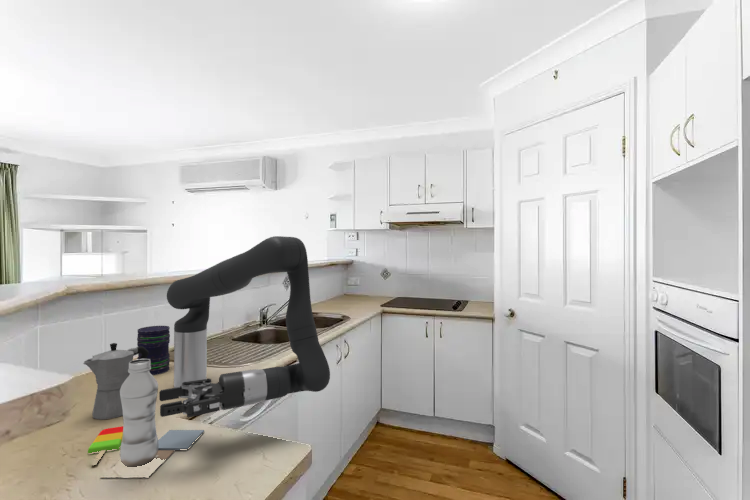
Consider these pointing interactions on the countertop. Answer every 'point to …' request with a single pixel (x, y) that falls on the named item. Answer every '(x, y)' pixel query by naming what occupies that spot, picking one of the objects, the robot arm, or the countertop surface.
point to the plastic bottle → (139, 415)
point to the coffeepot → (111, 379)
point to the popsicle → (107, 441)
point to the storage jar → (155, 347)
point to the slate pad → (178, 439)
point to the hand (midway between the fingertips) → (159, 403)
